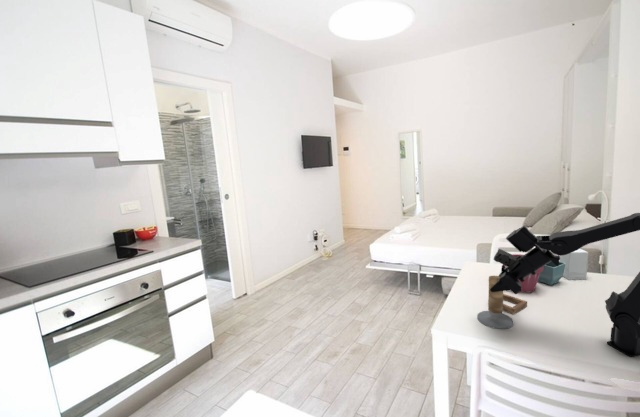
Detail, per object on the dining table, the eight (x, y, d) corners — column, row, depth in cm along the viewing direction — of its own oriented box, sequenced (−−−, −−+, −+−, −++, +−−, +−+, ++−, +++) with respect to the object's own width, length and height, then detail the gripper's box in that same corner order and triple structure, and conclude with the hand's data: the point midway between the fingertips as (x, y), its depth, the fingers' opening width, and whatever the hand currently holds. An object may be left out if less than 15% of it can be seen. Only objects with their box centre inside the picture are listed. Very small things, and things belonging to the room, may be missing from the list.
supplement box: (587, 280, 131) (589, 252, 129) (567, 279, 132) (569, 252, 130) (576, 273, 138) (578, 247, 136) (558, 273, 139) (559, 247, 137)
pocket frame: (527, 306, 113) (527, 301, 113) (514, 314, 109) (514, 309, 108) (501, 297, 121) (501, 292, 121) (488, 304, 116) (488, 299, 116)
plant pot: (534, 281, 133) (535, 254, 131) (548, 296, 120) (550, 265, 118) (497, 280, 137) (498, 253, 135) (508, 294, 124) (509, 264, 121)
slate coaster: (521, 326, 101) (521, 324, 101) (490, 330, 100) (490, 329, 100) (498, 310, 112) (498, 309, 112) (470, 314, 111) (470, 312, 111)
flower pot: (530, 281, 134) (531, 261, 132) (542, 276, 137) (543, 257, 136) (552, 288, 126) (554, 267, 124) (564, 283, 130) (566, 263, 128)
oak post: (505, 310, 104) (506, 278, 102) (498, 314, 102) (499, 281, 100) (492, 306, 108) (493, 274, 106) (485, 309, 106) (486, 277, 104)
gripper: (512, 236, 106) (477, 261, 115) (509, 251, 91) (469, 279, 100) (538, 260, 103) (500, 284, 111) (540, 280, 88) (496, 307, 96)
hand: (491, 288), depth 105 cm, fingers closed on oak post, 4 cm apart
